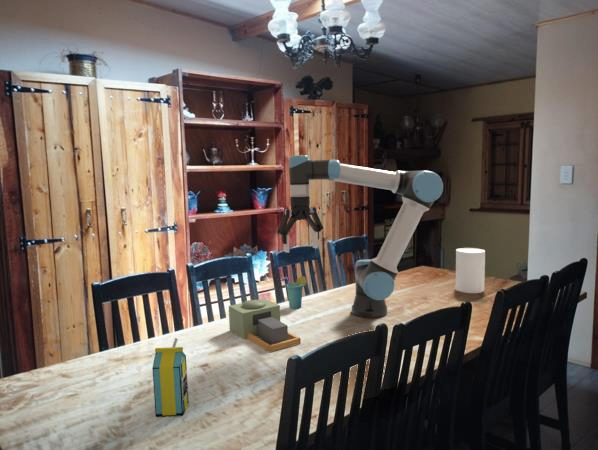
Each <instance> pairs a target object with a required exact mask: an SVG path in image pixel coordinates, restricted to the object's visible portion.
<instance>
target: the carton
mask: <svg viewBox="0 0 598 450" xmlns="http://www.w3.org/2000/svg"><path fill="white" fill-rule="evenodd" d="M178 340H179V339H178V338H176V337H175V338H174V341H173V344H172V347H171V346H170V347H156V348H155V349H154V358H153V363H152V369H151V370H152V381H153V397H154V412H155V418H167V417H166V416H169V417H184V415H185V413H186V410H187V408H186V407H188V405H189V386H188V385H189V384H188V367H187V355H186V354H185V352H184V351H183V350H184V347H183V346H176V345H177V343H178ZM169 417H168V418H169Z"/></svg>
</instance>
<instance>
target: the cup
mask: <svg viewBox="0 0 598 450" xmlns="http://www.w3.org/2000/svg"><path fill="white" fill-rule="evenodd" d="M284 280H286V282H287V283H286V288H287V297H288V307H289V309H291V310H299V309H301V308H302V302H303V301H302V300H303V299H302V298H303V287H305V286H306V285H307V283H308V279H307V277H306V276H303V275H300V276H298V277H297V278H296V281H295V282H290V280H289V277H287V276H285V277H282V278H280V279H279V281H280V282H281V281H284Z"/></svg>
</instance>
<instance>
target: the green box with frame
mask: <svg viewBox="0 0 598 450" xmlns="http://www.w3.org/2000/svg"><path fill="white" fill-rule="evenodd" d="M269 317H273V318H275V319H277V320H278V321H280V322H281V305H280V304H278V303H275V302H273V301H271V300H269V299H266V298H261V299H249V300H244V301H243V302H242V303H241V302H240V303H236V304H231V305H228V323H229V332H231V333H233V334H235V335H236V336H238V337H239V338H241V339H243V340H246V339H247V340H249V341H250V342H252V343H254V344H255V345H257V346H259V348H261V349H263V350H265V351H267V352H268V353H272V352H275V351H278V350H279V351H280V350H282V349H285V348H289V347H293V346H296V345H301V342H302V340H301V337H299V336H297V335H295V334H293V333H292V332H289V331H288V340H287V341H283V342H280V343H276V344H272V345H269V344H268V343H266V342H264V341H263V340H261V339H260V338H258V320H259V319H264V318H269Z"/></svg>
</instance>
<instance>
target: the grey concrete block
mask: <svg viewBox="0 0 598 450" xmlns="http://www.w3.org/2000/svg"><path fill="white" fill-rule="evenodd" d="M288 332H289V329H288V324H285V323H283V322H282V321H281V320H280V321H278V320H277V319H275V318H273V317H269V318H264V319H259V320H258V336H257V338H259V339H261V340H263V341H264V342H266V343H268V344H269V345H272V344H276V343H280V342H283V341H287V340H289V339H288Z"/></svg>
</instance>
